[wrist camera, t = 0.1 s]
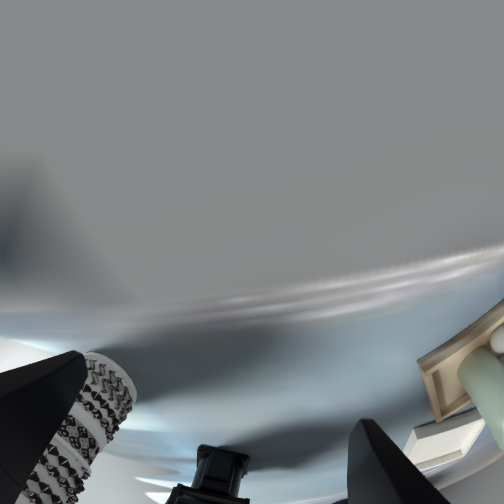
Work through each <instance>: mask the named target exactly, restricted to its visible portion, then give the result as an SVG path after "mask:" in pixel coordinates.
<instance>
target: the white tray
mask: <svg viewBox="0 0 504 504" xmlns="http://www.w3.org/2000/svg"><path fill="white" fill-rule="evenodd" d="M485 424H486V423H485V421H484V419H483V418H482V416H481V414H480V413H479V411H478V409H475V410H472V411H469V412H467V413H464V414H461V415H458V416H455V417H452V418H449V419H446V420H442V421H440V422H438V423H437V422H435V423H432V424H428V425H425V426H421V427H417V428H413V430H412V432H411V434H410V437H409V439H408V441H407V443H406V445H405V447H404V449H403V451H402V452H403V453H404V454H405V455H406V456H407V457H408V459H409V460H410V461H411V462H412V463H413V464H414V465H415V466H416V467H417V468H418V469H419V471H423V470H427V469H430V468H433V467H436V466H439V465H442V464H445V463H448V462H450V461H453V460H456V459H458V458H461V457H463V456H465V454H466V453H467V452H468V450H469V449H470V447H471V446H472V444H473V443H474V441H475V440H476V438H477V437H478V435H479V434H480V432H481V430H482V429H483V427H484V426H485Z"/></svg>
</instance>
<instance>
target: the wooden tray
mask: <svg viewBox="0 0 504 504" xmlns="http://www.w3.org/2000/svg"><path fill="white" fill-rule="evenodd" d="M503 323H504V299H503V300H502V301H501V302H499V303H498V304H497V305H496V306H495V307H493V308H492V309H491V310H490V311H488V312H487V313H486V314H485V315H483V316H482V317H481V318H480V319H478V320H477V321H476V322H474V323H473V324H472V325H470V326H469V327H467V328H466V329H465V330H463V331H462V332H460V333H459V334H458V335H456V336H455V337H453V338H452V339H450V340H449V341H447V342H446V343H444V344H443V345H441V346H440V347H438V348H437V349H435V350H433V351H432V352H430V353H429V354H427V355H425V356H424V357H422V358H420V359H419V360H417V363H418V366H419V369H420V372H421V375H422V379H423V382H424V385H425V389H426V392H427V396H428V399H429V403H430V407H431V411H432V413H433V416H434V418H435V420H436V422H437V423H438V422H440V421H442V420H444V419H445V418H447V417H449V416H450V415H452V414H454V413H455V412H457V411H458V410H460V409H461V408H463V407H464V406H466V405H468V404H469V403H470V402H472V400H471V398H470V396H469V395H468V393H467V392H466V390H465V389H464V387H463V386H462V384H461V382H460V381H459V379H458V378H457V371H458V368H459V366H460V364H461V362H462V361H463V359H464V358H465V357H466V356H467V355H468V354H469V353H470V352H471V351H473V350H474V349H476V348H478V347H481V346H485V347H487V348H488V349H489V350H490V351H491V352H492V353H493V354H494V356H495V357H496V358H499V357H500V356H503V355H504V353H497V352H495V351H494V350H493V349H492V347H491V344H490V337H491V334H492V331H493V330H494V329H495V328H497V327H498V326H499V325H500V324H503Z"/></svg>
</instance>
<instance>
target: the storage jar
mask: <svg viewBox="0 0 504 504" xmlns="http://www.w3.org/2000/svg"><path fill="white" fill-rule="evenodd" d="M332 504H348V499H344V500H340V501H337V502H334V503H332Z"/></svg>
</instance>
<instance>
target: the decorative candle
mask: <svg viewBox="0 0 504 504" xmlns="http://www.w3.org/2000/svg"><path fill="white" fill-rule="evenodd" d="M83 355H84V356H85V360H86V365H87V369H88V377H87V379H86V381H85V383H84V385H83V387H82V389H81V391H80V393H79V395H78V397H77V399H76V401H75V403H74V405H73V407H72V408H71V410H70V412H69V413H68V415H67V417H66V418H65V420H64V421H63V423H62V424H61V426H60V427H59V429H58V431H57V432H56V434H55V435H54V437H53V439H52V440H51V442H50V443H49V445H48V447H47V448H46V450H45V451H44V453H43V455H42V456H41V458H40V460H39V461H38V463H37V465H36V467H35V468H34V470H33V472H32V473H31V475H30V477H29V479H28V480H27V482H26V484H25V486H24V488H22V489H23V490H22V492H21V493H20V495H19V497H18V499H17V501H16V503H15V504H65V503H67V504H74V503H75V502H78V498H77V496H76V494H79V493H80V492H83V491H84V490H85V489H84V487H83V484H84V483H83V481H82V480H81V479H84V480H86V479H88V477H90V474H91V469H90V465H91V464H92V462H93V460H94V459H95V457H96V455H97V454H98V453H99V452H101V451H102V449H103V448H104V446H105V445H106V444H108V443H109V441H112V440H113V436H112V435H113V434H114V433H115V431H118V430H119V426H118V425H119V424H121V423H122V422H123V421H125V420H126V418H127V413H129V412H130V411H131V410H132V405H133V404H134V403H135V402H136V399H137V391H136V388H135V385H134V383H133V381H132V380H131V378H130V377H129V376H128V374H127V373H126V372H125V370H123V369H122V368H121V367H120V366H119V365H118V364H116V363H115V362H114V361H113V360H111V359H109V358H107V357H106V356H104V355H102V354H99V353H94V352H88V353H85V354H83ZM69 496H70V497H69Z"/></svg>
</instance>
